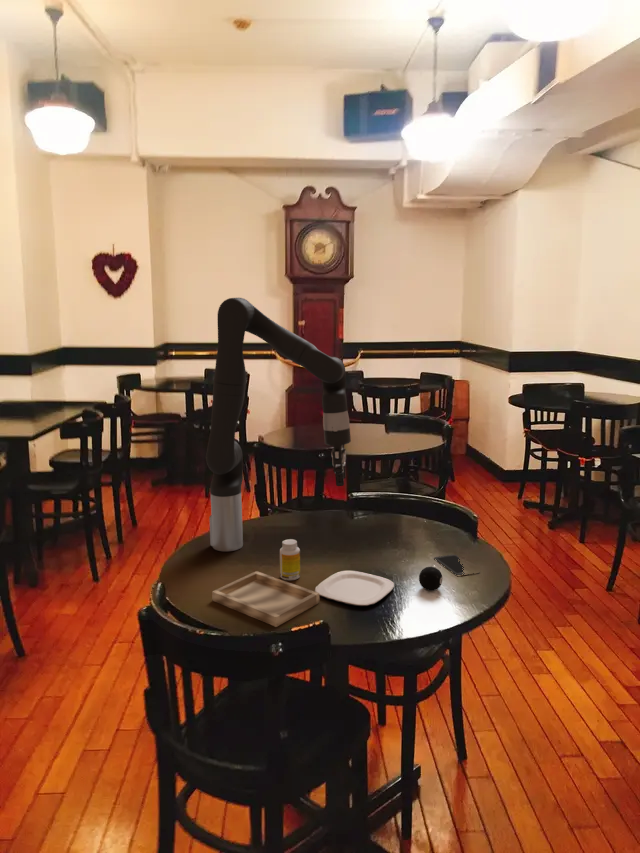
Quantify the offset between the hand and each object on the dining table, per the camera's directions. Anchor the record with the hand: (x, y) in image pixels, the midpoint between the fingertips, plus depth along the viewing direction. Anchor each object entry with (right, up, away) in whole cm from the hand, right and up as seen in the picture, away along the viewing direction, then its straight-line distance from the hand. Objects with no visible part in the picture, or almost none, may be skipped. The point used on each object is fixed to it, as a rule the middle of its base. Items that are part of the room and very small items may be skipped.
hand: (341, 482), depth 196 cm
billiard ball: (+23, -27, -19) cm, 40 cm away
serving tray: (-20, -28, -25) cm, 43 cm away
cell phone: (+33, -24, -4) cm, 41 cm away
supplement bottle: (-14, -25, -11) cm, 31 cm away
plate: (+3, -27, -20) cm, 34 cm away
